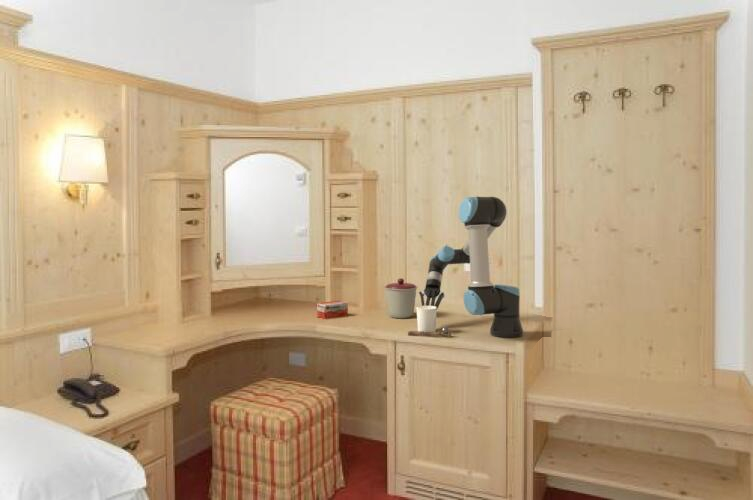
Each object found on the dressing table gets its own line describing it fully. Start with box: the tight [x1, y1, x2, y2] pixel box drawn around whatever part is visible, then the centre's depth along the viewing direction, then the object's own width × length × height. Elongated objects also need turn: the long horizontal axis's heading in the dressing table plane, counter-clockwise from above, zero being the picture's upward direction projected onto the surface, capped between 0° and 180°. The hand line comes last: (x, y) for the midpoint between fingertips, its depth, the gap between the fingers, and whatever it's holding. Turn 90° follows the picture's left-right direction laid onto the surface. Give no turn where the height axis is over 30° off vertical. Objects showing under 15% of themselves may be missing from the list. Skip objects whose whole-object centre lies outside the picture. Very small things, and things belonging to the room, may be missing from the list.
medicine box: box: [316, 300, 349, 320], centre depth 343 cm, size 15×8×8 cm, turn 126°
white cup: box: [415, 305, 438, 332], centre depth 301 cm, size 10×10×12 cm
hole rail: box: [407, 330, 452, 339], centre depth 293 cm, size 20×4×2 cm, turn 74°
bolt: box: [441, 326, 449, 334], centre depth 290 cm, size 3×3×2 cm
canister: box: [383, 278, 419, 319], centre depth 340 cm, size 18×18×21 cm
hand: (427, 320), depth 305 cm, fingers closed
